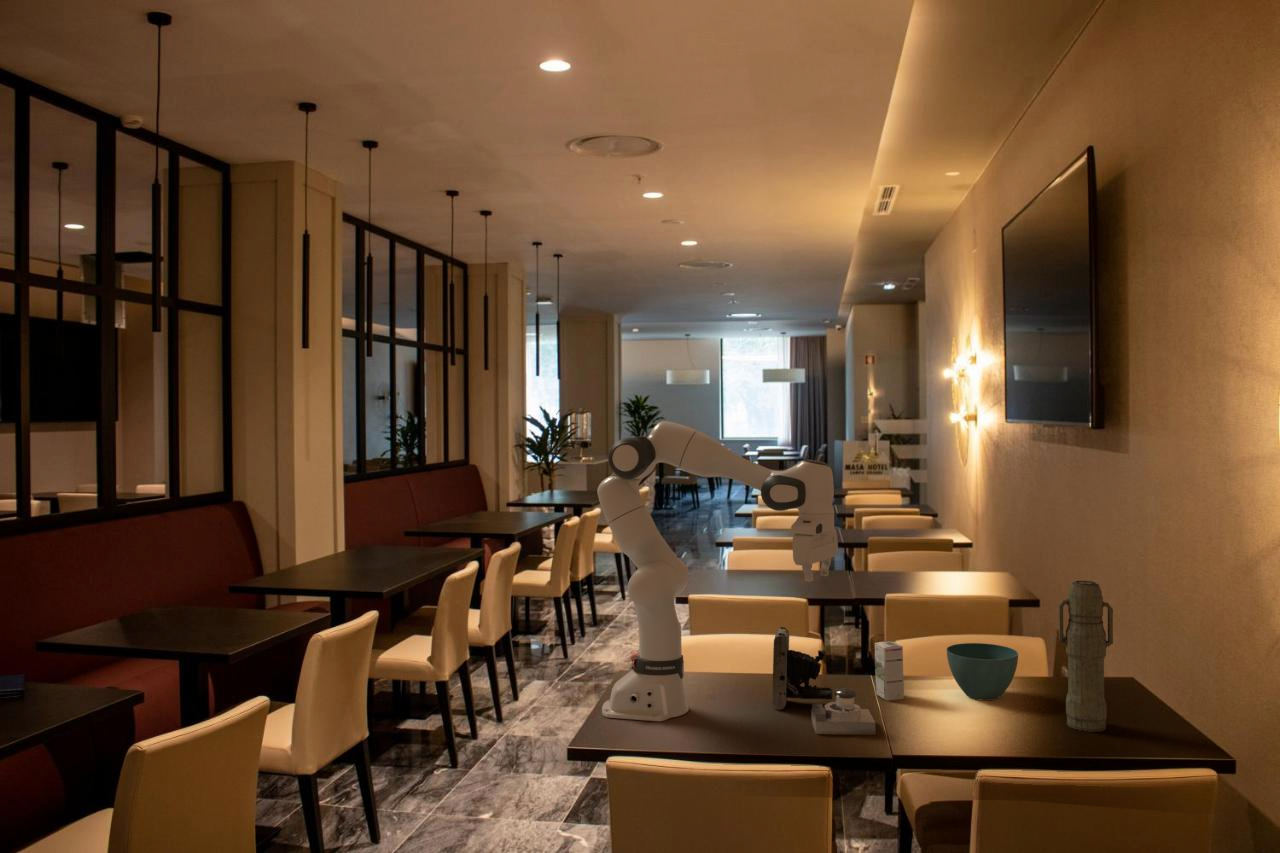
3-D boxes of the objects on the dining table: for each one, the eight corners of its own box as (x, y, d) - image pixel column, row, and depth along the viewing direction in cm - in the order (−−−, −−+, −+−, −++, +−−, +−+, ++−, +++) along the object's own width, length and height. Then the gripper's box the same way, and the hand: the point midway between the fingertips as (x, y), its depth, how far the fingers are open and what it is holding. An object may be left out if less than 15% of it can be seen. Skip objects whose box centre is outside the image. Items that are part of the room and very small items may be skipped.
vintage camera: (832, 715, 242) (834, 637, 242) (771, 709, 245) (773, 633, 245) (832, 704, 251) (834, 629, 251) (773, 699, 254) (775, 625, 254)
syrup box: (904, 699, 252) (904, 645, 252) (884, 701, 251) (884, 646, 251) (894, 693, 258) (893, 640, 258) (874, 695, 257) (873, 642, 256)
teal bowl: (954, 705, 247) (954, 658, 247) (940, 685, 265) (940, 641, 265) (1027, 707, 245) (1026, 660, 244) (1008, 686, 263) (1007, 642, 262)
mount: (816, 734, 226) (815, 713, 226) (811, 720, 236) (811, 700, 236) (875, 734, 225) (875, 713, 225) (868, 721, 235) (868, 701, 235)
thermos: (1117, 733, 224) (1117, 586, 223) (1064, 730, 227) (1063, 584, 226) (1108, 721, 232) (1107, 579, 232) (1056, 718, 235) (1055, 578, 235)
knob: (830, 715, 230) (831, 690, 230) (842, 710, 234) (842, 686, 234) (848, 720, 227) (848, 695, 227) (859, 715, 230) (859, 691, 230)
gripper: (821, 519, 249) (821, 571, 249) (787, 527, 232) (788, 583, 232) (843, 520, 245) (844, 573, 245) (811, 529, 228) (812, 586, 228)
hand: (816, 578), depth 238 cm, fingers open, 8 cm apart
